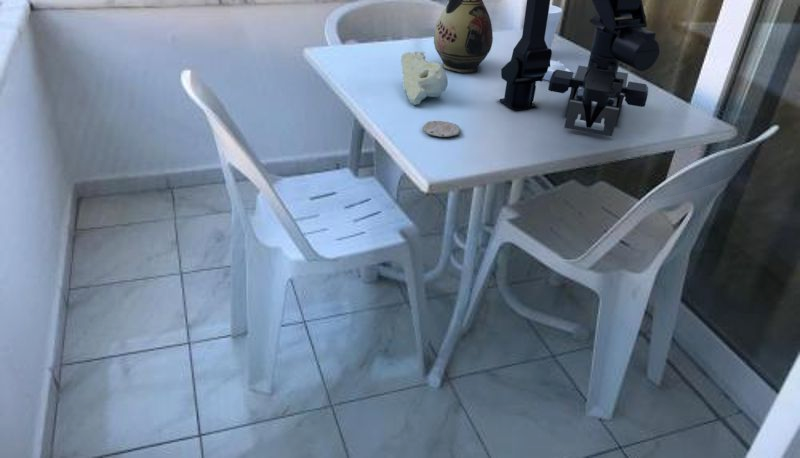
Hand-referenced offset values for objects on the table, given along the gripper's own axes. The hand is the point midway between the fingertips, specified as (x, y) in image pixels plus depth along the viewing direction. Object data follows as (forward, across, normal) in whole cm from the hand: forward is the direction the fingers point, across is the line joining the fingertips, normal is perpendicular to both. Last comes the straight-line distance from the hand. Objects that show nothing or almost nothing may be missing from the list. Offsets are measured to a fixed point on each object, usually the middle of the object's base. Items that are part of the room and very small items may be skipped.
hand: (588, 127), depth 132 cm
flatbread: (+6, -30, -4) cm, 31 cm away
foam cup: (+6, -19, +58) cm, 61 cm away
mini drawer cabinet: (+6, 0, +23) cm, 23 cm away
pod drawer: (+5, 0, +11) cm, 12 cm away
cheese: (+6, -42, +14) cm, 45 cm away
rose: (+6, -13, +41) cm, 44 cm away
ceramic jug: (+6, -37, +37) cm, 53 cm away
